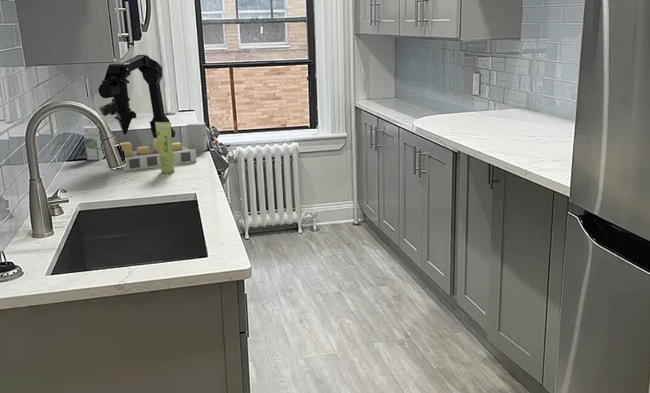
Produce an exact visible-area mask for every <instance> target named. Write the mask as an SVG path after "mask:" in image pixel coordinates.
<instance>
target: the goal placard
mask: <svg viewBox="0 0 650 393" xmlns="http://www.w3.org/2000/svg"><path fill="white" fill-rule="evenodd" d="M126 161H127V164H126V165H125V166H123V169H122V172H128V171H136V170H144V169H151V168H159V167H160V168H161V164H160V155H159V154H154V155H146V156H137V157H129V158H126ZM173 161H174V164H175V165H182V164H189V163H188V162H190V163H196V162H195V161H197V152H196V150H187V151H178V152H173ZM181 163H182V164H181Z"/></svg>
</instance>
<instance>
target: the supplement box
mask: <svg viewBox="0 0 650 393" xmlns="http://www.w3.org/2000/svg"><path fill="white" fill-rule="evenodd" d="M186 137H187V149H190V150H196V153H204V152H206V151H207V150H208V142H207V140H208V139H207V126H206V122H202V121H201V122H200V121H199V122H189V123H188V124H186ZM206 149H207V150H206ZM203 151H204V152H203Z"/></svg>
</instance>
